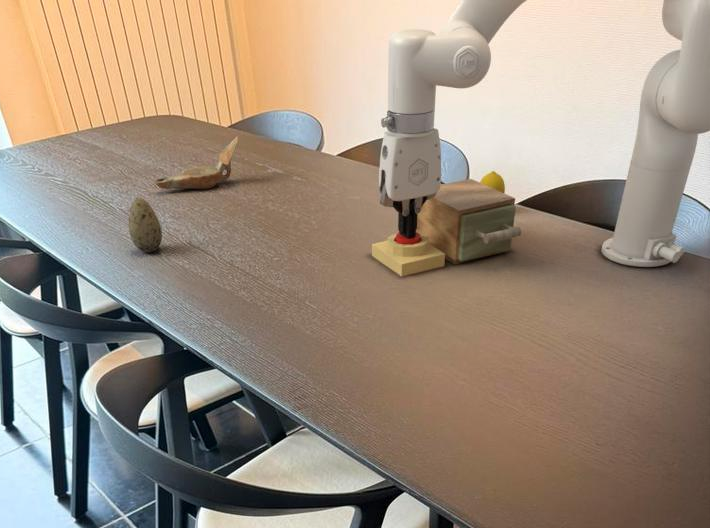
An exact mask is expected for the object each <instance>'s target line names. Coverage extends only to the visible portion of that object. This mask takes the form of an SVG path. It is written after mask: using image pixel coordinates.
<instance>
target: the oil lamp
mask: <svg viewBox="0 0 710 528" xmlns="http://www.w3.org/2000/svg"><path fill="white" fill-rule="evenodd" d="M238 142H239V135H236V136H235V138H234V139H233V140H232V141H231V142H230V143H229V144H228V145H227V146H226V147H225V148H224V149H223V150H222V151H221V152H220V154H219V156H218V160H219V161H218V163H217V165H216V166H209V165H202V166H195V167H190V168H188V169H183V170H182V172H181V173H179V174H176V175H172V176H171V175H167V176H162V177H158V178H157V179H155V180H154V184H155V185H156V186H157V187H159V188H161V189H163V190H172V189H190V190H191V189H192V190H193V189H194V190H208V189H212V188H214V187H215V186H217V185H218V183H219V182H222V181H226V180H228V179H229V178H230V177H231V173H232V158H233V156H234V153H235V151H236V149H237V146H238ZM225 170H226V174H223V173H224V171H225Z"/></svg>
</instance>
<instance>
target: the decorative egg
mask: <svg viewBox="0 0 710 528" xmlns="http://www.w3.org/2000/svg"><path fill="white" fill-rule="evenodd" d="M128 232H129V233H128V234H129V236H130V239H131V242H132V243H133V245H134V246H135V247H136V248H137V249H139V250H140V251H141V252H144V253H153V252H154V251H157V249H158V248H159V247H160V246H161V245H162V244H161V243H162V240H163V231H162V227H161V223H160V221H159V218H158V216H157V213H156V212H155V211H154V208H152V206H151V205H150V204H149V202H148V201H147V200H146V199H144V198H143V197H136V198H135V199H134V200H132V202H131V204H130V207H129V213H128Z"/></svg>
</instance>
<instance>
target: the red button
mask: <svg viewBox="0 0 710 528" xmlns="http://www.w3.org/2000/svg"><path fill="white" fill-rule="evenodd" d="M397 233H398V234H397ZM397 233H396V234H397V235H396V242H397V243H398V244H403V245H413V244H417V243H419V242H420V234H419V233H417V232H416V236H415V237H410V238H406V237H404V236H402V235H401V234H400V233H399V232H397Z"/></svg>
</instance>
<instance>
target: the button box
mask: <svg viewBox="0 0 710 528" xmlns="http://www.w3.org/2000/svg"><path fill="white" fill-rule="evenodd" d="M398 233H399V232H397V233H393V234H391V235H390V236H388V237H387V240H383V241H379V242H374V243H371V257H373V258H375V259H376V260H377V261H378V262H380V263H381V264H383V265H384V266H386V267H387V268H389V269H390V270H392V271H393V272H395V273H396V274H397V275H399V276H400V277H405V276H409V275H413V274H418V273H421V272H422V273H423V272H426V271H429V270H434V269H438V268H442V267H445V264H446V263H445V262H446V261H445V260H446V259H445V254H444V253H443V252H441V251H439V250H438V249H436V248H434V247H433V246H431V245H429V244H428V243H429V241H428V237H427V236H425V235H423V234H420V233H419V234H420V242H419V243H417V244H413V245H403V244H398V243H397V242H396V235H397V234H398Z"/></svg>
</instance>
